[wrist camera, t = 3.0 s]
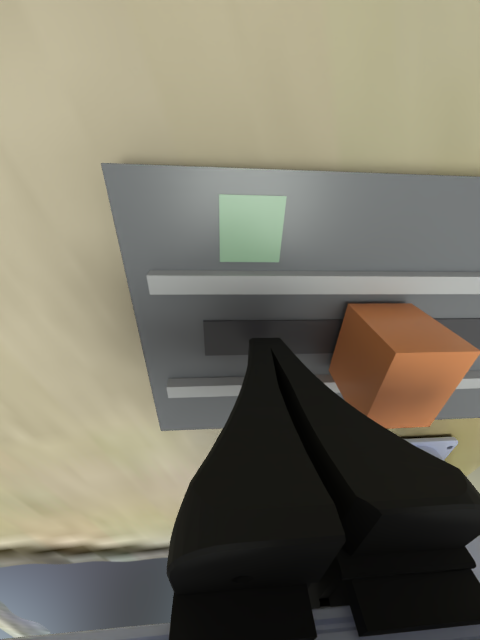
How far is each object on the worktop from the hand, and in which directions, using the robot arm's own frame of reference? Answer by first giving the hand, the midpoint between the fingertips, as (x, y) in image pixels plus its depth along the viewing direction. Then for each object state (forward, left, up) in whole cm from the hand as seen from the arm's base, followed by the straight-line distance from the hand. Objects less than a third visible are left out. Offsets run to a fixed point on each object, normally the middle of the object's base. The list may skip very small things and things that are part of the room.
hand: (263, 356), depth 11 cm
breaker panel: (0, -5, -3) cm, 6 cm away
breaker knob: (0, -5, -1) cm, 5 cm away
